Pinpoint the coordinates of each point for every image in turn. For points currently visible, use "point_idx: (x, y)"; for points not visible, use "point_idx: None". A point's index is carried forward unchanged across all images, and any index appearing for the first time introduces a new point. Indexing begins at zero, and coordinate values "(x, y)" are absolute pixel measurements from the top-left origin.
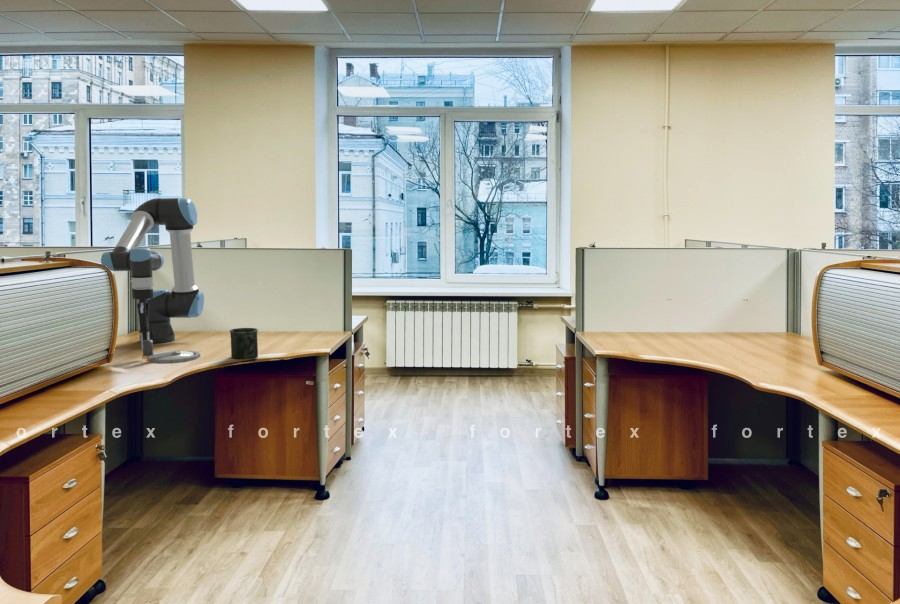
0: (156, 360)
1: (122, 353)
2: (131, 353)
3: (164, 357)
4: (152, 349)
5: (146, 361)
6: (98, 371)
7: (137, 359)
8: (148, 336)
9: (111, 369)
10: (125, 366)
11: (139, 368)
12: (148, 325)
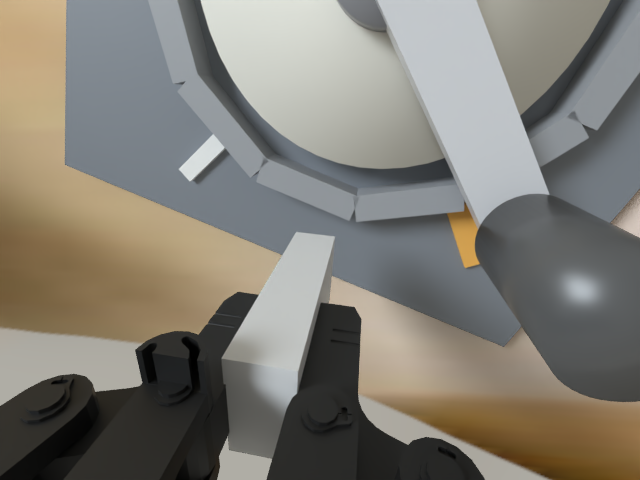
0: (552, 154)
1: (40, 329)
2: (39, 292)
3: (535, 73)
4: (598, 218)
5: (460, 230)
6: (514, 446)
7: (225, 269)
8: (313, 318)
9: (493, 398)
10: (437, 336)
11: None
12: (22, 465)
